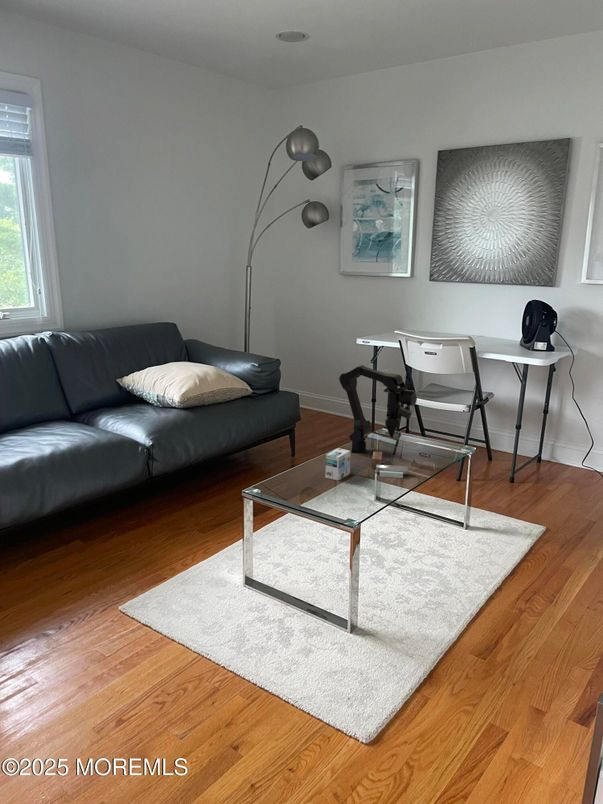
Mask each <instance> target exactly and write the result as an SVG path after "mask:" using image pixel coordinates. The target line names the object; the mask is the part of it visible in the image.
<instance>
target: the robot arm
mask: <svg viewBox="0 0 603 804" xmlns="http://www.w3.org/2000/svg"><path fill="white" fill-rule="evenodd" d="M361 376H362V377H365V378H368V379H370V380H373V381H376V382H379V383H381V384H382V385H383V386H385V387H386V388H385V389H383V392H384V393H387V400H386V401H387V404H386V418H385V419H384V420H385V421H384V422H385V423H384V424H385V427H386V429H387V431H388V432H387V433H388V435H389V437H390V438H391V439H393V438H394V434H395V430H396V428H397V427H399V426H400V418H401V417H403V418H405V419H407V420H410V419H411V416H412V413H413V411H412V410H411V409H410V406H411V407H414V406H415V405H416V404H417V400H418V396H417V394H416V390H410V389H408V387H407V385H406V383H404V379H403V377H402V375H400V374H397V373H386V372H382V371H380V370H376V369H374V368H373V369H372V368H370V367H368V366H365V365H358V366H356V367H354V368H353V369H352V370H350V371H346V372H344V373H342V374H341V373H340V375H339V377H338V380H339V383H340V386H341V388H342V389H343V390H344V391H345V392H346V395H347V399H348V403H349V405H350V410H351V412H352V417H353V421H354V422H353V432H352V433H351V434H349V435H348V437H349V440H350V441H351V450H350V451H351V453H359V454H365V453H366V452H367V441H366V439H367V438H368V437H369V435H370V434H371V432H372V428H373V426H372V425H371V421H370V420H369V419H366V418H365V415H364V412H363V409H362V405H361V403H360V402H361V401H360V398H359V394H358V391H357V386H358V380H357V379H358V378H360V377H361ZM401 404H402V405H406V406H405V407H403V406H401Z"/></svg>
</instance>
